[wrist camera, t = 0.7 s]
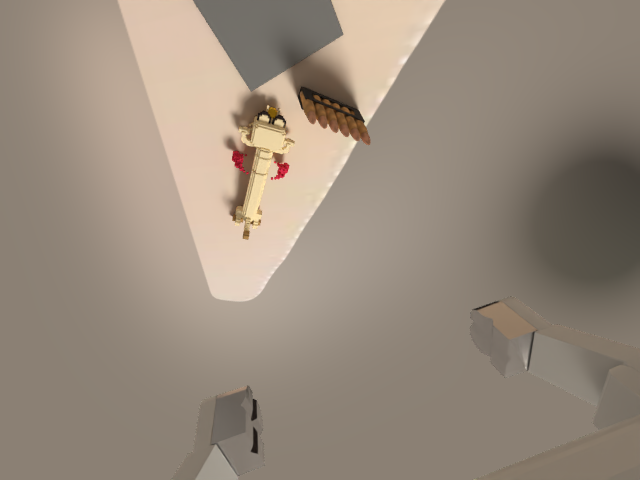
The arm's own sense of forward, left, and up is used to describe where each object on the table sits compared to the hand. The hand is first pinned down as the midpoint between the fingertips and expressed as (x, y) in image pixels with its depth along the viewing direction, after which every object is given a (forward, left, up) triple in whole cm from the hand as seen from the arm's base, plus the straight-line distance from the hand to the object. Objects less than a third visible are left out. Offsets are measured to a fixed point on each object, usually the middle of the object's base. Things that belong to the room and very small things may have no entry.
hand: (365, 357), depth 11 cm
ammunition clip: (+10, +2, -48) cm, 49 cm away
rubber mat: (-7, 0, -47) cm, 48 cm away
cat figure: (+14, -15, -48) cm, 52 cm away
